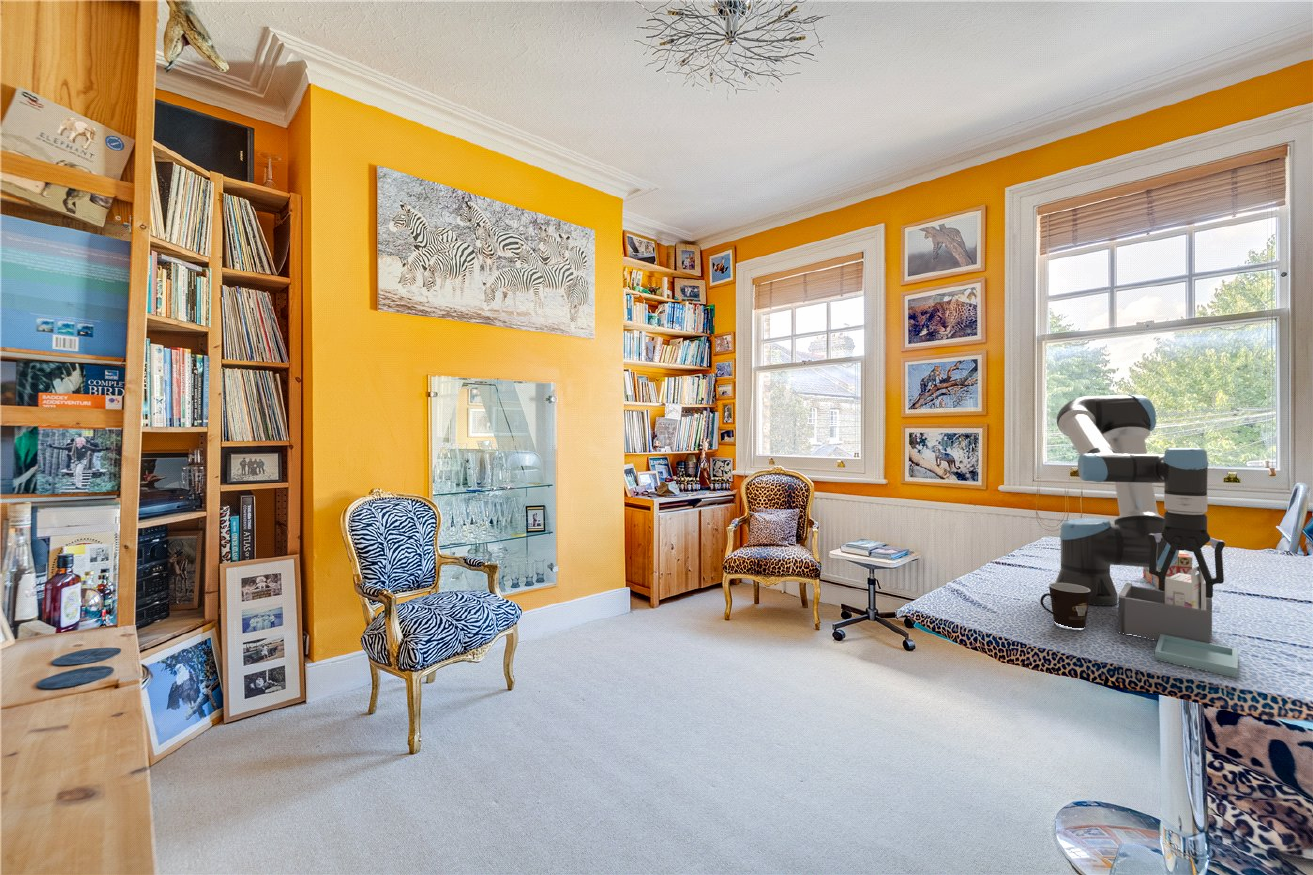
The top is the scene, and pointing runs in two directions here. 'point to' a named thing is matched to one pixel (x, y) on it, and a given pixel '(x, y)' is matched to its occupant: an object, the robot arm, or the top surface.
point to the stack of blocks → (1171, 569)
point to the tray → (1198, 655)
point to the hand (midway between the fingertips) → (1185, 607)
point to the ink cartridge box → (1185, 589)
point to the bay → (1161, 616)
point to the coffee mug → (1068, 604)
